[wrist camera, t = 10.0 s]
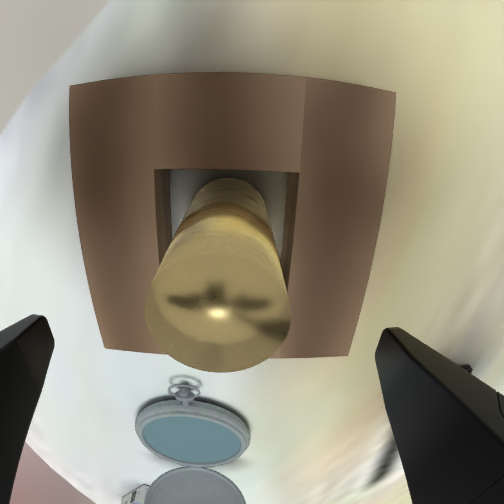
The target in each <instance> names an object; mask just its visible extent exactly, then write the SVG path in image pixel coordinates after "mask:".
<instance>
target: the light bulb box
mask: <svg viewBox="0 0 504 504" xmlns="http://www.w3.org/2000/svg"><path fill="white" fill-rule="evenodd" d="M149 487H150V486H147V485H142V486H141V487H139V488H137V489H136V490H134V491H132V492H131V493H129V494H127V495H126V496H124V497H122V501H121V504H144V499H145V496H146V493H147V491H148V489H149Z"/></svg>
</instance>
